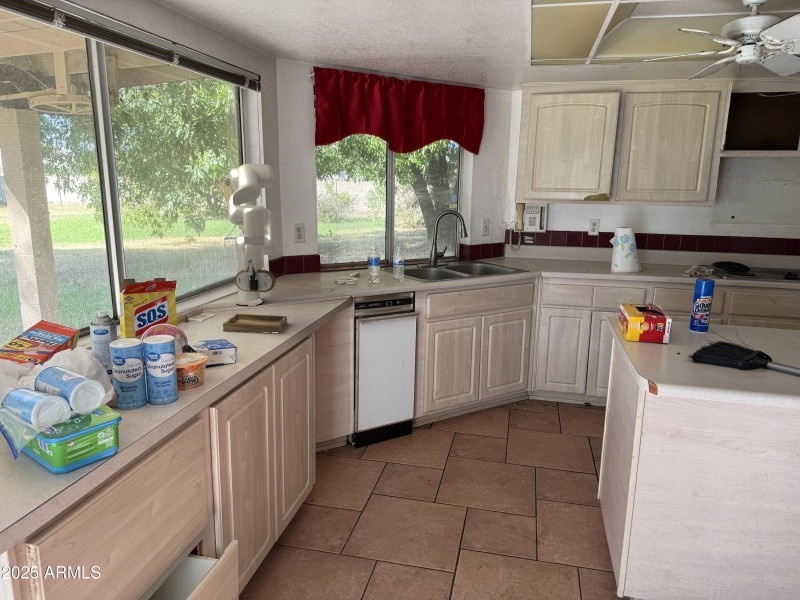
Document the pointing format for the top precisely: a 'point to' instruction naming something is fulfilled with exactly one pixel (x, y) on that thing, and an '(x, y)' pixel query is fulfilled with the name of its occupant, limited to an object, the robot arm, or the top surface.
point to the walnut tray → (254, 323)
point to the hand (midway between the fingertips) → (255, 288)
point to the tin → (263, 276)
